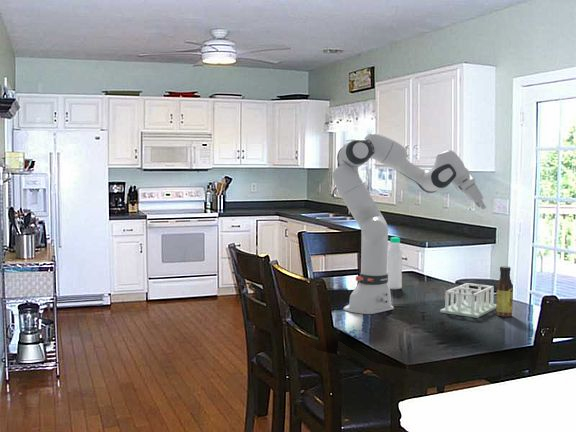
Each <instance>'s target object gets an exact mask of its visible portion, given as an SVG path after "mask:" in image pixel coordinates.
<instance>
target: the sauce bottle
mask: <svg viewBox="0 0 576 432" xmlns="http://www.w3.org/2000/svg"><path fill="white" fill-rule="evenodd" d="M511 269H512V268H511V267H510V266H506V265H505V266H499V273H500V276H499V279H498V281H497V282H496V302H495V304H496V309H495V311H496V316H498V317H503V318H505V317H506V318H509V317H512V315H513V309H514V307H513V303H514V299H513V298H514V285H513V281H512V280H511Z"/></svg>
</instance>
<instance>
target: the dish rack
mask: <svg viewBox="0 0 576 432" xmlns="http://www.w3.org/2000/svg"><path fill="white" fill-rule="evenodd" d="M470 286H472V287H477V288H472V287H470ZM482 288H483V289H482ZM494 289H495V286H494V285H487V284H479V283H471V282H465V283H463V284H461V285H458V286H455V287H452V288H449V289H448V290H445V294H444V295H445V297H444V299H445V300H444V308H441V309H440V310H439V313H444V314H448V315H449V314H450V315H457V316H463V317H468V318H476V319H479V318H480V317H482V316H484V315H486V314H488V313H491V312H492V311H494V310H496V303H494V300H495V299H494V297H495V294H494V293H495V292H494V291H495V290H494ZM472 292H474V293H472ZM449 297H450V300H449ZM449 302H450V305H449ZM454 302H455V303H454Z"/></svg>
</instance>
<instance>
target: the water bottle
mask: <svg viewBox="0 0 576 432" xmlns="http://www.w3.org/2000/svg"><path fill="white" fill-rule="evenodd" d="M400 243H401V238H400V237H395V236H394V237H393V236H392V237H390V246H389V248H388V251H387V274H388V283H387V285H388V287H389V288H390V290H400V289H402V287H403V286H402V285H403V284H402V283H403V281H402V279H403V274H402V271H403V256H402V255H403V250H402V248H401V246H400Z"/></svg>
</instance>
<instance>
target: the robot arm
mask: <svg viewBox="0 0 576 432" xmlns="http://www.w3.org/2000/svg"><path fill="white" fill-rule="evenodd" d="M407 154H408V153H407V149H406V148H405V147H404V146H403V145H402V143H399V142H397V141H396V140H394V139H392V138H390V137H387V136H385V135H383V134H380V133H378V132H377V133H376V132H370V133H368V134H367V135H366V136H365V137H364V138H362V139H360V138H359V139H358V138H357V139H356V138H355V139H353V140H351V141H349V142H347V143H345V144H344V145H343V146H342V147H340V149H339V150H338V152H337V155H336V158H337V159H336V160H337V167H336V168H335V169H334V171H332V179H333V182H334V185H335V188H336V189H337V191H338V193H339V195H340V197H341V199H342V201H343V202H344V204H345V206H346V207H347V209H348V212H349V213H350V214H351V215H352V217H353V219H354V221H355V222H356V224H357V225H358V227H359V228H360V230H361V232H360V233H361V238H360V240H361V245H360V246H361V247H360V249H361V253H360V256H361V257H360V273H359V276H358V275H355V281H358V284H357V285H356V286H355V288H354V289H353V290H352V292H351V294H350V295H349V300H348V301H349V304H347V305H345V306H344V307H343V310H344V311H346V312H351V313H354V314H355V313H356V314H361V315H362V314H363V315H374V314H377V313H378V314H379V313H383V312H386V311H391V310H394V309H395V307H394V306H393V305H392V299H391V297H392V296H391V289H390V288H389V287H388V285H387V283H388V250H389V247H388V245H389V226H388V224H387V221H386V219H385V218H384V215H383V214H382V213H381V212H382V211H380V209H379V207H378V206H377V204H376V202H375V201H374V199H373V197H372V195H371V193H370V192H369V190H368V188H367V186H366V185H365V182H363V180H362V178H361V177H360V174H359V167H361V166H363V165H364V164H365V163H367V162H368V161H369V160H370V159H371V160H372V159H373V160H375V161H376V162H379V163H381V164H383V165H385V166H387V168H390V169H393V170H394V171H396V172H398V173H400V174H401V175H403V176H404V177H406V178H408V179H410V180H411V181H412V182H414V183H416V184H417V185H418V187H419V188H420V189H421V190H422V191H423V192H425V193H427V194H433V193H436V192H438V191H439V190H442V189H445V188H447V187H448V186H449V185H450V184H452V185H453V186H454V188H455V189H456V190H457V191H458V192H459V191H461V192H462V193H464V194H465V196H466V197H467V198H468V199H469V200H470V201H472V202H474V204H475V205H476V206H477V208H481V210H485V209H486V208H487V206H486V205H485V203H484V200H483V199H484V197H483V194H482V192H481V191H480V189H479V187H478V185H477V184H476V179H475V177H474V176H473V175H472V173H471V172H470V170H469V169H468V168H467V167H466V166H465V163H464V162H463V160H462V159H461V158H460V157H459V155H458V154H457V153H456V152H455V151H453V150H452V149H447V150H446V151H443V152H441V153H439V154H437V156H436V157H435V161H434V164H433V165H432V167H431V169H430V170H428V169H427V170H425V169H422V168H420V167H419V166H417V165H416V164H413V162H411V161H409V159H408V158H407Z"/></svg>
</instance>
